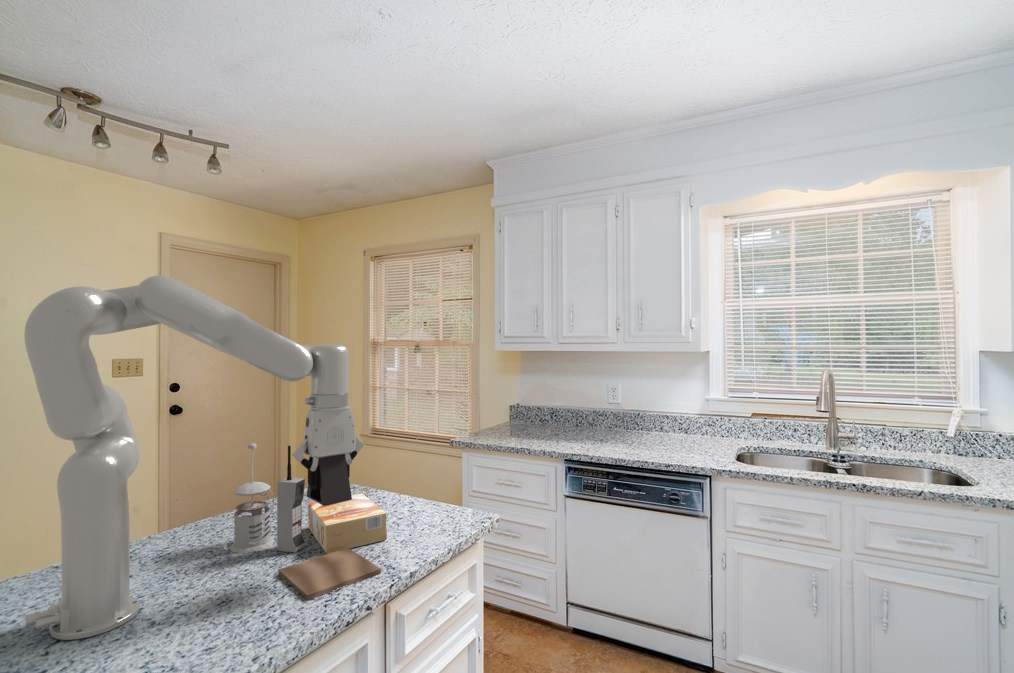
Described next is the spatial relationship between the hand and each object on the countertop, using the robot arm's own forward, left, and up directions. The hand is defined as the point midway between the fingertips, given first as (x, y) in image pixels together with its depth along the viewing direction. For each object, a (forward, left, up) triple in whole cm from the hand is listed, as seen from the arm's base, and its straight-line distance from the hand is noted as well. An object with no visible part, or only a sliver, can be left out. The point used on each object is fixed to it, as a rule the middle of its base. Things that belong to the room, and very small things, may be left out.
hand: (329, 484), depth 108 cm
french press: (-6, +28, -20) cm, 35 cm away
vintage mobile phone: (-1, +18, -20) cm, 27 cm away
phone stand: (0, 0, -3) cm, 3 cm away
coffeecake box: (+11, +8, -16) cm, 21 cm away
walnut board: (0, 0, -19) cm, 19 cm away
